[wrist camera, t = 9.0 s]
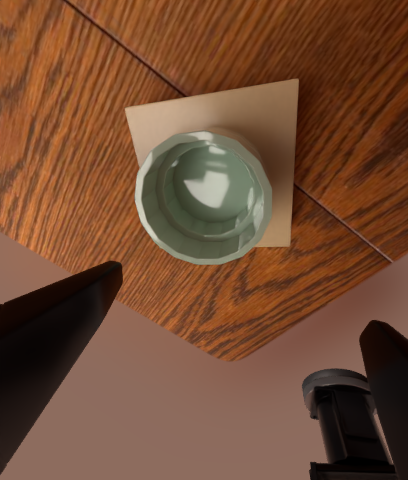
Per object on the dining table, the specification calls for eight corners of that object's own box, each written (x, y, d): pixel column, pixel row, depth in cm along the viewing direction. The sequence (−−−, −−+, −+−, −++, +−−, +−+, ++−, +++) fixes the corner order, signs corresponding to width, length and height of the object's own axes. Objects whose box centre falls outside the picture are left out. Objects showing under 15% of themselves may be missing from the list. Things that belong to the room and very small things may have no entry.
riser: (285, 228, 19) (290, 246, 16) (170, 232, 21) (159, 249, 19) (290, 84, 14) (299, 77, 12) (143, 108, 17) (123, 107, 14)
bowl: (266, 227, 16) (271, 264, 12) (174, 231, 18) (152, 264, 14) (266, 118, 13) (273, 121, 9) (154, 133, 14) (118, 141, 11)
